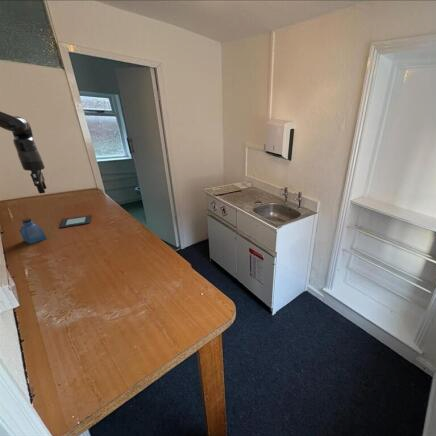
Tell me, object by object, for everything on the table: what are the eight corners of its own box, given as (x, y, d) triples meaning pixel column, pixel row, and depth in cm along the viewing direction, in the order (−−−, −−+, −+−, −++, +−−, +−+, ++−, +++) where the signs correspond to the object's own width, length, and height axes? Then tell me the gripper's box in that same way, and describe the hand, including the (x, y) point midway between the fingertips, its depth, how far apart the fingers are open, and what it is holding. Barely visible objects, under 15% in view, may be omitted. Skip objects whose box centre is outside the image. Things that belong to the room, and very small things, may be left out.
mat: (59, 228, 131) (59, 227, 131) (63, 220, 141) (62, 219, 140) (89, 223, 138) (89, 222, 138) (90, 216, 148) (90, 215, 147)
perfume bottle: (41, 236, 122) (32, 216, 117) (47, 239, 119) (38, 218, 114) (24, 241, 116) (14, 220, 112) (30, 245, 114) (20, 223, 109)
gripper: (22, 158, 118) (34, 188, 125) (17, 162, 109) (31, 195, 115) (42, 157, 123) (53, 186, 129) (40, 161, 113) (52, 193, 120)
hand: (43, 190), depth 122 cm, fingers open, 8 cm apart
